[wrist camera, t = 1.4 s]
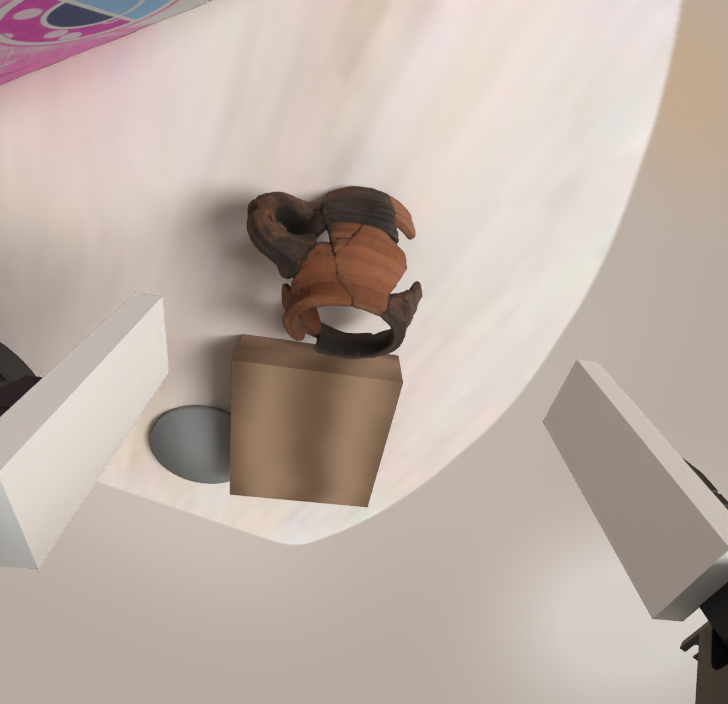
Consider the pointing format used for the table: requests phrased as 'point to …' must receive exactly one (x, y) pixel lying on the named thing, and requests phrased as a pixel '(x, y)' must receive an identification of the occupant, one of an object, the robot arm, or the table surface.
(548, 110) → the table surface
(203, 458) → the coaster
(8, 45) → the gum box
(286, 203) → the pottery mug
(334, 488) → the plinth
